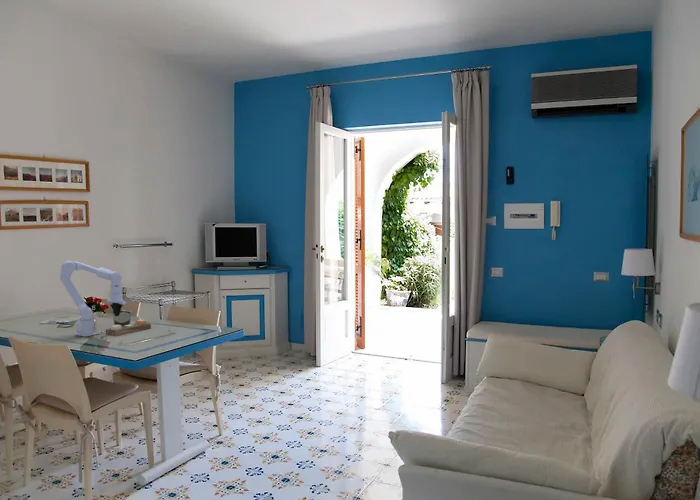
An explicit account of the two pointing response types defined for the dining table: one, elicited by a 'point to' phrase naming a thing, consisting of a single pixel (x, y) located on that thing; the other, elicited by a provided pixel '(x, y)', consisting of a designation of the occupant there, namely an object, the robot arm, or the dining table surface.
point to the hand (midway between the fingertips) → (117, 315)
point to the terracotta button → (141, 322)
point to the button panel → (128, 329)
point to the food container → (122, 317)
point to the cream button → (115, 327)
